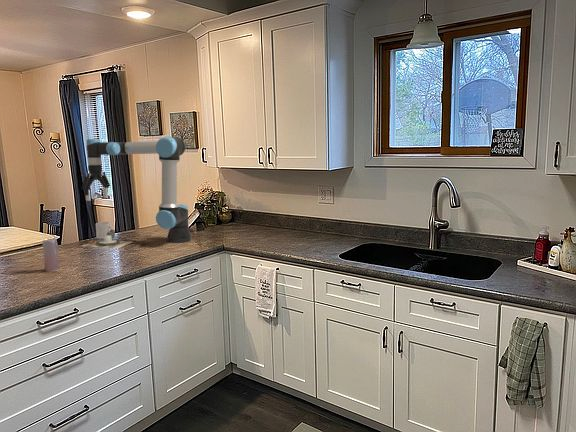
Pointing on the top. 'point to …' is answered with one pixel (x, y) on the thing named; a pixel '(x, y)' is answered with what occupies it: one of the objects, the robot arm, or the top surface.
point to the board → (122, 243)
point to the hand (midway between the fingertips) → (97, 199)
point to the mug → (102, 229)
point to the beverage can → (50, 255)
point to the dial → (109, 237)
